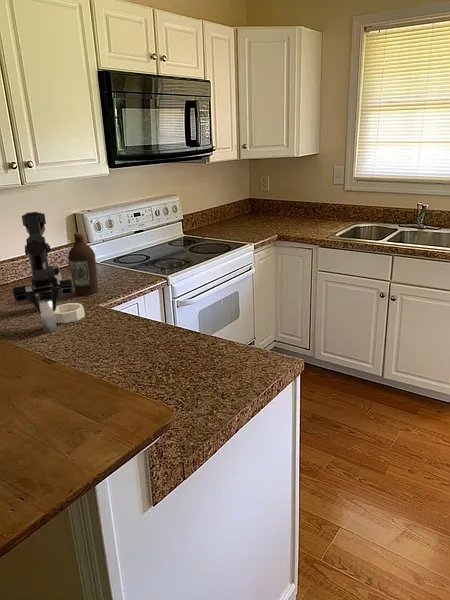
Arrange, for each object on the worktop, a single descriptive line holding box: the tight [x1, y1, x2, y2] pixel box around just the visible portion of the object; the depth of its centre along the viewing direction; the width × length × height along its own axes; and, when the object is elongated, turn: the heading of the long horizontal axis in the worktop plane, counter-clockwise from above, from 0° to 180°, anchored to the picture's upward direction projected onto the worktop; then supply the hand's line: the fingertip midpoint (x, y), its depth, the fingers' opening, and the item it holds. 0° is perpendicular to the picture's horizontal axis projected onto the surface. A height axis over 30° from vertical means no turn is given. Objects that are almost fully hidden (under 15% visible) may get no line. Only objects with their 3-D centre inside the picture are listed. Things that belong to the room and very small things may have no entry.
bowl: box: [54, 302, 86, 324], centre depth 171 cm, size 11×11×4 cm
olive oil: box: [67, 232, 99, 296], centre depth 197 cm, size 11×11×25 cm
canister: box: [37, 299, 58, 333], centre depth 159 cm, size 4×4×10 cm
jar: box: [49, 265, 63, 284], centre depth 196 cm, size 9×8×12 cm
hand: (47, 311), depth 158 cm, fingers closed on canister, 4 cm apart
